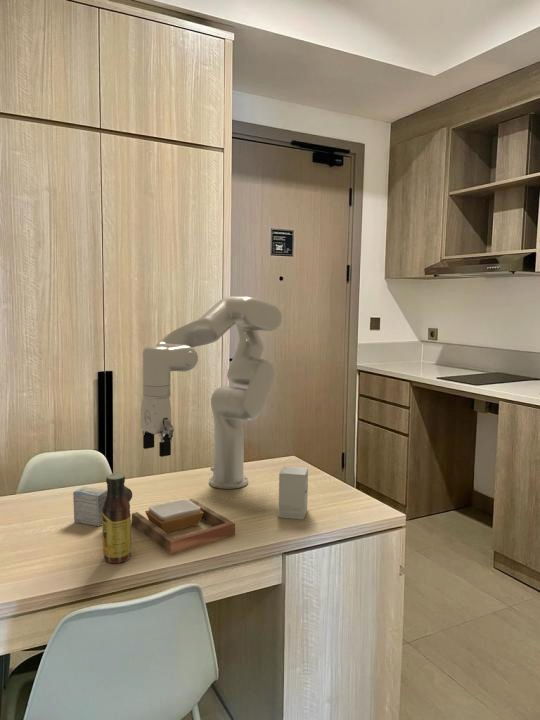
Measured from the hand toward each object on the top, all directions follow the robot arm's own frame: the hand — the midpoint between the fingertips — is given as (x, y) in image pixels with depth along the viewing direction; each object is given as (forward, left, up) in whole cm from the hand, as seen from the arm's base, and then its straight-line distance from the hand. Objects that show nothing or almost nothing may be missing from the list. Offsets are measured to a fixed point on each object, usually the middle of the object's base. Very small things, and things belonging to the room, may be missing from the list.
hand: (156, 451), depth 154 cm
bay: (+14, -3, -17) cm, 22 cm away
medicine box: (-3, -18, -17) cm, 25 cm away
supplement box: (+25, +29, -17) cm, 42 cm away
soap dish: (+11, -1, -18) cm, 21 cm away
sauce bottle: (+21, -21, -17) cm, 34 cm away
